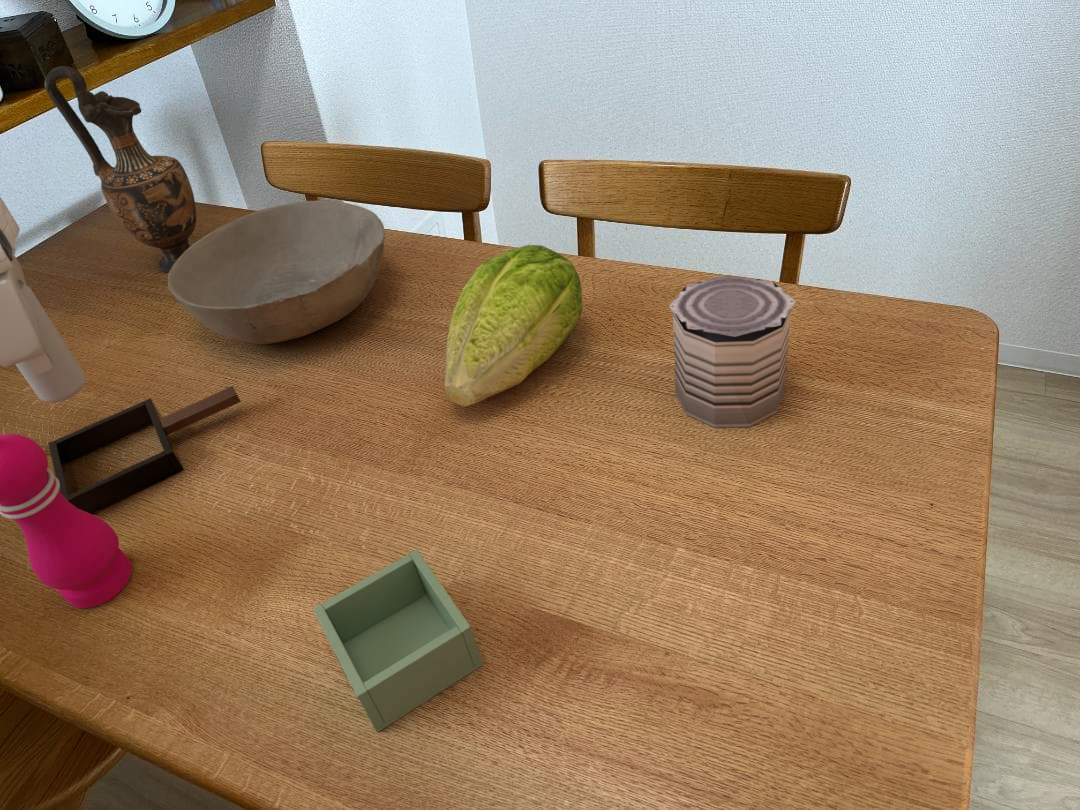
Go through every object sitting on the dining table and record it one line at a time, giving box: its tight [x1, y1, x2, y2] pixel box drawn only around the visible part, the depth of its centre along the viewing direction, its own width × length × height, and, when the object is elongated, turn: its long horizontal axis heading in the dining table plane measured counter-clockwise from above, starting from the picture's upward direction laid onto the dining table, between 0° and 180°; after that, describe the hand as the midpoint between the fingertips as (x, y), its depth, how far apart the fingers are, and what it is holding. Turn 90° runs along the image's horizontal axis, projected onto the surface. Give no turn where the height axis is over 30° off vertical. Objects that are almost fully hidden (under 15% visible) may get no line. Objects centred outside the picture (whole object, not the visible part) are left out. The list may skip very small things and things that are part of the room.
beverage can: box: [14, 279, 87, 404], centre depth 79 cm, size 5×5×12 cm
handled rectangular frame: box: [48, 385, 241, 515], centre depth 91 cm, size 20×12×3 cm, turn 123°
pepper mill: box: [0, 433, 133, 609], centre depth 71 cm, size 7×7×20 cm
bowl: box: [167, 199, 386, 345], centre depth 107 cm, size 28×28×10 cm
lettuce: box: [444, 244, 583, 408], centre depth 91 cm, size 13×22×14 cm
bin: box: [312, 548, 484, 733], centre depth 65 cm, size 10×10×6 cm
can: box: [668, 274, 796, 429], centre depth 82 cm, size 11×11×12 cm
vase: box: [43, 65, 197, 273], centre depth 116 cm, size 12×12×30 cm
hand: (40, 354), depth 80 cm, fingers closed on beverage can, 5 cm apart
